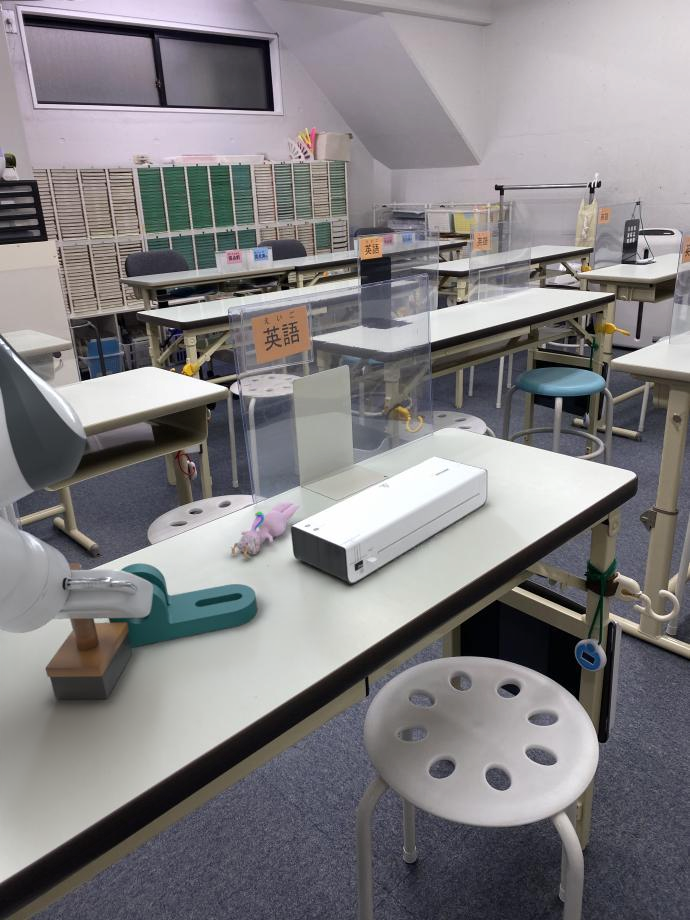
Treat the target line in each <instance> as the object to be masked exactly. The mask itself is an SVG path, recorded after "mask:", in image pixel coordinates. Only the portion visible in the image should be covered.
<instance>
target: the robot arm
mask: <svg viewBox="0 0 690 920" xmlns="http://www.w3.org/2000/svg"><path fill="white" fill-rule="evenodd" d="M87 440H88V435H87V433H86V431H85V429H84V426H83V423H82V421H81V418H80V416H79V415H78V413H77V412H76V410H75V409H74V407H73V406H72V404H70V402H68V400H67V399H66V398H65V397H64V396H63V395H62V394H61V393H60V392H59V391H58V390H57V389H55V388H54V387H52V386H51V385H50V384H49V383H48V382H47V381H45V379H44V378H43V377H41V376H40V375H39V373H37V371H35V370H34V369H33V368H32V366H30V364H29V363H28V362H27V361H26V360H25V359H24V358H23V357H22V355H20V354H19V352H18V351H17V350H16V349H15V348H14V347H13V346H12V345H11V344H10V342H9V341H8V340H7V339H6V338H5V337H4V336H3V335H2V334H1V333H0V510H3V509H4V508H7V507H8V506H10V505H12V504H13V503H15V502H17V501H20V500H21V499H23V498H25V497H26V496H29V495H30V494H32V493H34V492H39V491H41V490H43V489H46V488H48V487H51V486H53V485H55V484H58V483H59V482H62V481H64V480H66V479H69V478H71V477H73V476H74V474H75V472H76V471H77V469H78V467H79V465H80V463H81V461H82V458H83V455H84V452H85V449H86V444H87ZM69 564H70V563H69V562H68V560H67V558H66V557H65V556H64V554H63V553H62V552H61V551H59V550H58V549H57V548H55V547H54V546H52V545H50V544H48V543H46V542H45V541H43V540H41V539H40V538H38V537H36V536H35V535H33V534H31V533H29V532H27V531H25V530H22V529H18V528H16V527H15V525H13V524H12V523H11V522H10V521H8V520H7V519H5V518H4V517H2V516H0V631H4V632H7V633H12V634H25V633H29V632H33V631H35V630H38V629H40V628H42V627H44V626H45V625H47V624H48V623H49V622H51V621H52V620H70V619H89V618H94V619H109V618H142V617H145V616H147V615H149V613H150V611H151V606H152V598H153V586H152V584H151V583H150V582H148V581H147V580H145V579H143V578H140V577H138V576H136V575H134V574H131V573H128V572H125V571H120V570H121V569H120V570H119V569H106V568H105V569H82V570H70V567H69Z"/></svg>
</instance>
